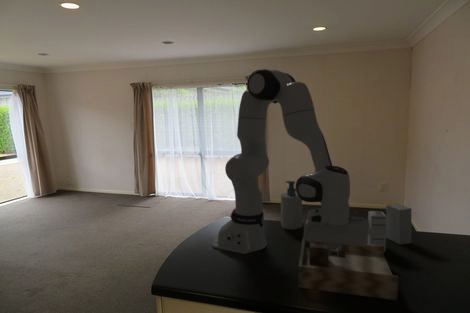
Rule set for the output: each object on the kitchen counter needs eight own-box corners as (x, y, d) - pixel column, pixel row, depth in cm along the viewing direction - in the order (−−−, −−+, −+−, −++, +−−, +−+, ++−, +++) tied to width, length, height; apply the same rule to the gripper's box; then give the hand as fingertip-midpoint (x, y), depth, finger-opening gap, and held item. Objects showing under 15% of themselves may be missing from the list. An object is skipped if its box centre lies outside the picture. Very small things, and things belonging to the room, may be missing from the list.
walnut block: (309, 264, 101) (309, 250, 100) (309, 256, 106) (310, 243, 106) (328, 266, 99) (328, 252, 98) (327, 258, 105) (328, 244, 104)
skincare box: (411, 243, 125) (413, 208, 123) (398, 245, 123) (400, 210, 121) (396, 235, 133) (398, 203, 131) (384, 237, 131) (386, 204, 129)
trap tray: (298, 287, 95) (298, 266, 94) (302, 255, 116) (302, 238, 115) (397, 300, 87) (398, 277, 86) (382, 264, 108) (383, 245, 107)
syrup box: (385, 251, 118) (387, 215, 116) (369, 250, 119) (371, 215, 117) (381, 245, 123) (383, 211, 121) (366, 244, 124) (367, 210, 123)
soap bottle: (292, 221, 153) (292, 178, 150) (305, 226, 146) (306, 181, 143) (276, 225, 148) (276, 181, 145) (289, 231, 140) (290, 184, 137)
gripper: (367, 214, 100) (366, 254, 102) (304, 210, 105) (303, 248, 107) (370, 221, 94) (368, 263, 96) (303, 216, 99) (302, 256, 101)
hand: (333, 255), depth 102 cm, fingers closed
